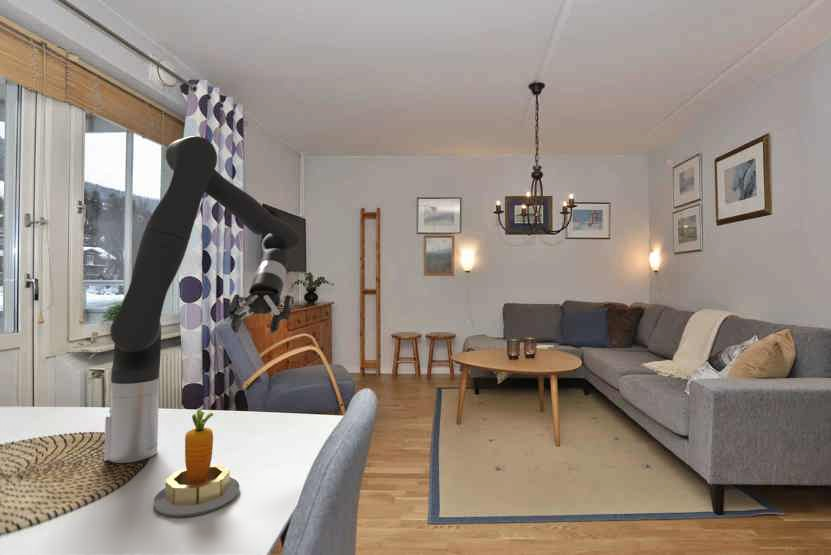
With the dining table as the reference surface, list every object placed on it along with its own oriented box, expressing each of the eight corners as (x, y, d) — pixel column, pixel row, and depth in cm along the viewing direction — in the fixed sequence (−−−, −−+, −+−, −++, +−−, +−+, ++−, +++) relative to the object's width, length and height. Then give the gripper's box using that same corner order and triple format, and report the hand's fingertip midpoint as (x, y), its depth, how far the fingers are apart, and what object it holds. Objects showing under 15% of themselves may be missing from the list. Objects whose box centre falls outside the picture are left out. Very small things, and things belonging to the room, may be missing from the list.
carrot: (189, 485, 82) (191, 406, 82) (216, 484, 82) (218, 406, 83) (177, 498, 77) (179, 414, 77) (206, 497, 78) (208, 414, 78)
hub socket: (136, 518, 72) (136, 494, 72) (177, 480, 86) (178, 460, 86) (221, 517, 73) (222, 493, 73) (249, 479, 87) (249, 459, 87)
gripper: (237, 270, 110) (218, 319, 98) (294, 271, 110) (281, 320, 99) (244, 291, 115) (226, 340, 103) (298, 292, 115) (287, 340, 104)
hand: (253, 330), depth 101 cm, fingers open, 8 cm apart
